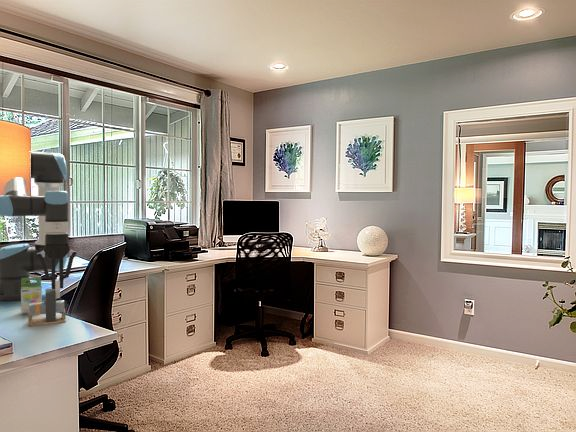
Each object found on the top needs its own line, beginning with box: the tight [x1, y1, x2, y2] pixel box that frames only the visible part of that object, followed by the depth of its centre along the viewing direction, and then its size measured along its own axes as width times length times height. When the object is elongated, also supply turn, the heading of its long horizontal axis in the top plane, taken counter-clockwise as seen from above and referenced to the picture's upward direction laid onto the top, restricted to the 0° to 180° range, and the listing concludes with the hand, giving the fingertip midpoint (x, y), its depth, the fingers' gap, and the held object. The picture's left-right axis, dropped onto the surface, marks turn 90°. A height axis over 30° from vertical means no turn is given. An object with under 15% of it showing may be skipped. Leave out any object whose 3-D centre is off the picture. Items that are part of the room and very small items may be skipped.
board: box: [27, 308, 67, 327], centre depth 157 cm, size 8×12×3 cm
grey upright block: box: [45, 288, 57, 321], centre depth 157 cm, size 8×3×10 cm, turn 30°
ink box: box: [20, 276, 43, 315], centre depth 168 cm, size 7×4×13 cm, turn 120°
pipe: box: [28, 299, 66, 317], centre depth 157 cm, size 4×11×4 cm, turn 120°
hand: (57, 297), depth 158 cm, fingers closed
